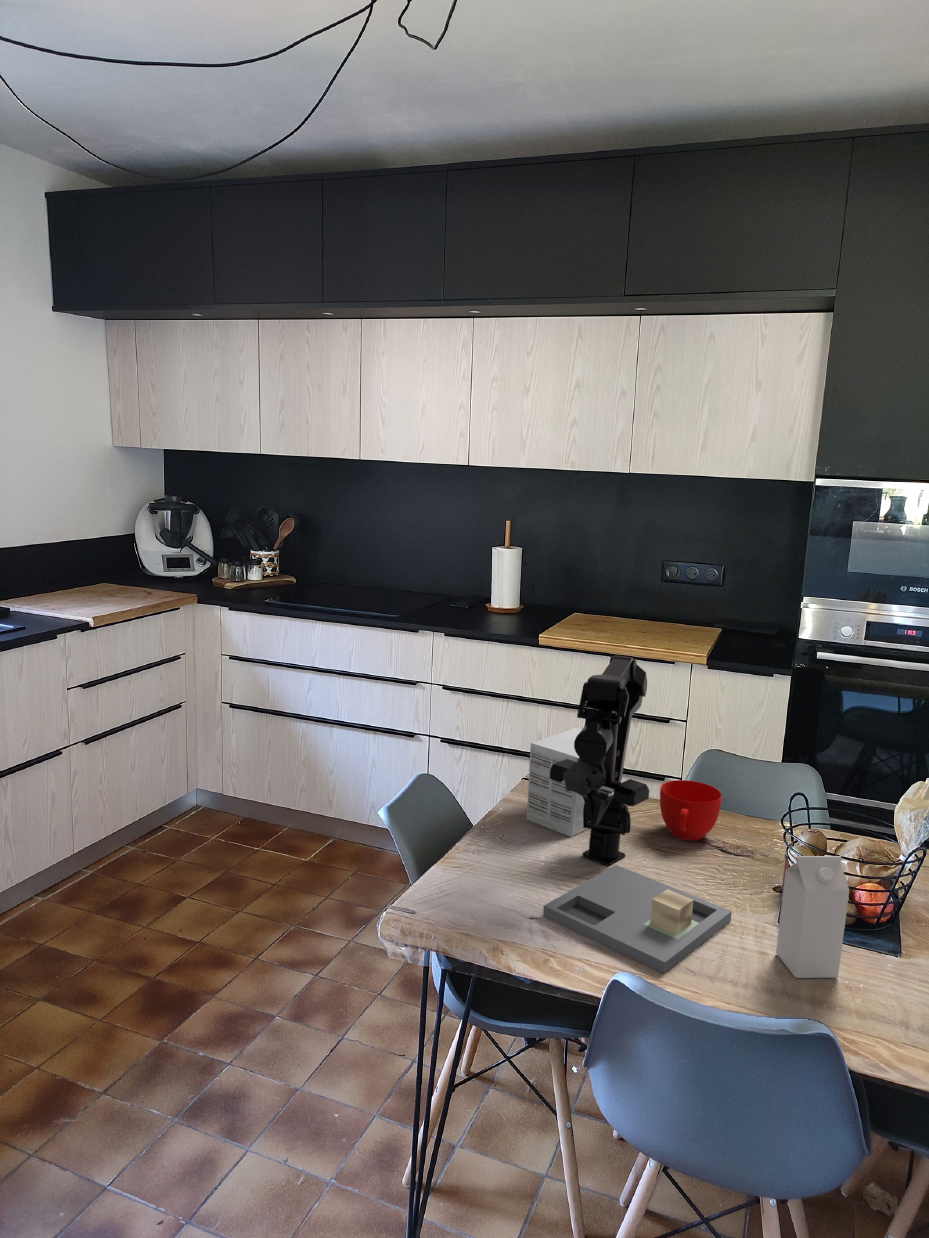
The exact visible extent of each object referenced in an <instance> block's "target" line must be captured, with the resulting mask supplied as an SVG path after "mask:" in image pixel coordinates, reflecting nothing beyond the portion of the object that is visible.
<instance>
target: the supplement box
mask: <svg viewBox="0 0 929 1238" xmlns="http://www.w3.org/2000/svg"><path fill="white" fill-rule="evenodd" d="M582 729H583V728H579V727H574V728H571V729H569V730H566V731H563V732H560V733H557V734H555V735H554V734H553V735H551V736H548V737H545V738H542V739H540V740H536V741H534V742H530V749H529V750H530V751H529V752H530V753H529V766H528V767H529V770H528V772H529V773H528V787H527V808H526V809H527V811H526V820H527V821H530V822H533V823H535V824H537V825H540V826H542V827H544V826H545V828H548V829H550V830H551V831H554V830H555V831H554V832H557V833H560V834H562V835H563V836H564V835H565V836H567V837H570V838H572V837H573V836H576V835H578V834H580V833H583V832H585V831H587V830H589V828H583V808H584V803H585V801H584V799H583V797H582V796H581V795H579V794H578V793H576V792H573V791H568V790H566V788H565V782H564V781H563V782H558V781H555V780H552V779H550V778H549V772H550V768H551V766H552V765H553V764H555V763H557V762H560V761H563V760H565V759H569V760H572V761H575V762H578V759H579V756H578V755H577V753H576V751H575V748H574V741H575V739H576V737H577V735H578V734H579V733H580V732H581V730H582Z"/></svg>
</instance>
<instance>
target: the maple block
mask: <svg viewBox="0 0 929 1238" xmlns="http://www.w3.org/2000/svg"><path fill="white" fill-rule="evenodd" d="M692 910H693V899H690V898H688V897H685V896H683V895H680V894H678V893H675V892H673V891H670V890H668V889H667V890H665V891H664V892H662V893H661V894H659V895H658V896H656V897H655V898H653V899H652V907H651V918H650V924H652V925H655V926H657V927H659V928H661V929H664V930H666V931H668V932H670V933H673V934H675V935H677V934H679V933H680V932H681V931H683V930H684V929H685V928H687V927H688V926H689V925H691V920H692Z"/></svg>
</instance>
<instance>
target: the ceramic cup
mask: <svg viewBox="0 0 929 1238" xmlns="http://www.w3.org/2000/svg"><path fill="white" fill-rule="evenodd" d="M659 789H660V790H659V804H660V805H659V807H660V813H661V817H662V820H663V821H664V824H665V826H666V828H668V829H669V831H670V832H671V835H673V836H674V837H675V838H678V839H681V840H685V841H689V842H690V841H694V842H695V841H700V840H702V839H703V837H706V835H707V834H708V833H710V831H711V830H712V829H713V827H715V825H716V823H717V821H718V819H719V815H720V812H721V806H722V802H723V801H722V800H723V795H722V792H721V791H720V790H719V789H718V788H716V787H714V786H712V785H710V784H707V783H703V782H699V781H693V780H687V779H677V780H675V779H674V780H669V781H666V782H664V783H662V784H661V786H660V788H659Z"/></svg>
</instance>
